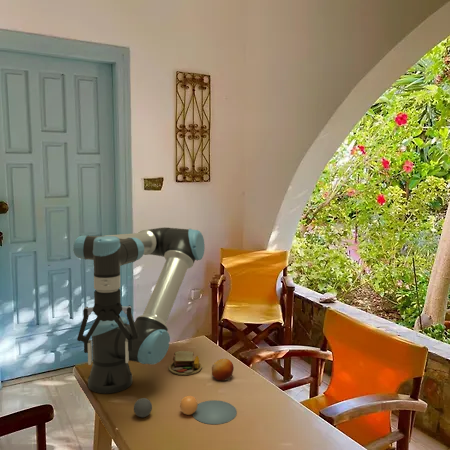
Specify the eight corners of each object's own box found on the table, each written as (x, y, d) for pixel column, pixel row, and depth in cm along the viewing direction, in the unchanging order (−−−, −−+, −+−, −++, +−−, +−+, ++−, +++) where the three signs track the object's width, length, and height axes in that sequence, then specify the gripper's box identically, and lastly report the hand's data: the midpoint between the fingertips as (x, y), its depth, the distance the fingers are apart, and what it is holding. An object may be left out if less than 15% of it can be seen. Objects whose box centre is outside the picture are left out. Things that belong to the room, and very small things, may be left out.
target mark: (182, 415, 143) (182, 414, 143) (208, 396, 155) (208, 396, 155) (220, 429, 136) (220, 428, 136) (244, 408, 148) (244, 408, 148)
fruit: (236, 380, 164) (225, 360, 164) (217, 389, 166) (206, 369, 166) (240, 370, 172) (229, 352, 172) (222, 379, 174) (211, 360, 174)
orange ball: (176, 414, 144) (176, 397, 143) (187, 407, 148) (187, 390, 148) (190, 420, 141) (190, 402, 140) (201, 412, 145) (201, 395, 145)
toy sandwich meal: (166, 376, 170) (166, 364, 170) (171, 361, 184) (171, 349, 183) (200, 377, 170) (200, 364, 170) (202, 361, 184) (203, 350, 183)
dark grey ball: (130, 417, 142) (129, 400, 141) (142, 409, 146) (142, 393, 146) (143, 422, 139) (143, 405, 138) (155, 414, 143) (155, 397, 143)
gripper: (64, 293, 131) (66, 369, 134) (146, 291, 134) (146, 365, 137) (69, 286, 139) (71, 358, 141) (147, 285, 142) (147, 355, 144)
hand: (108, 361), depth 139 cm, fingers open, 10 cm apart
